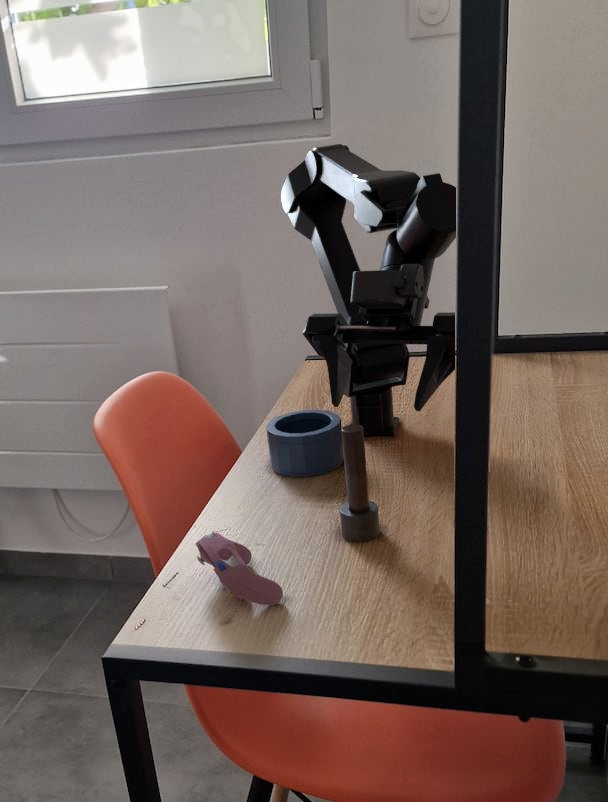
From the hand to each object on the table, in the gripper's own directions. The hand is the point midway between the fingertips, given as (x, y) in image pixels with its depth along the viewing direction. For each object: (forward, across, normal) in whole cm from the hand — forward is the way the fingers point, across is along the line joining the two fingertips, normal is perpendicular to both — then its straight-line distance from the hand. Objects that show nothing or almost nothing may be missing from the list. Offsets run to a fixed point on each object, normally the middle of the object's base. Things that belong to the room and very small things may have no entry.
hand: (374, 407), depth 87 cm
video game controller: (+23, -7, -5) cm, 24 cm away
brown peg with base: (+13, 0, +4) cm, 13 cm away
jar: (+1, -14, +16) cm, 21 cm away
